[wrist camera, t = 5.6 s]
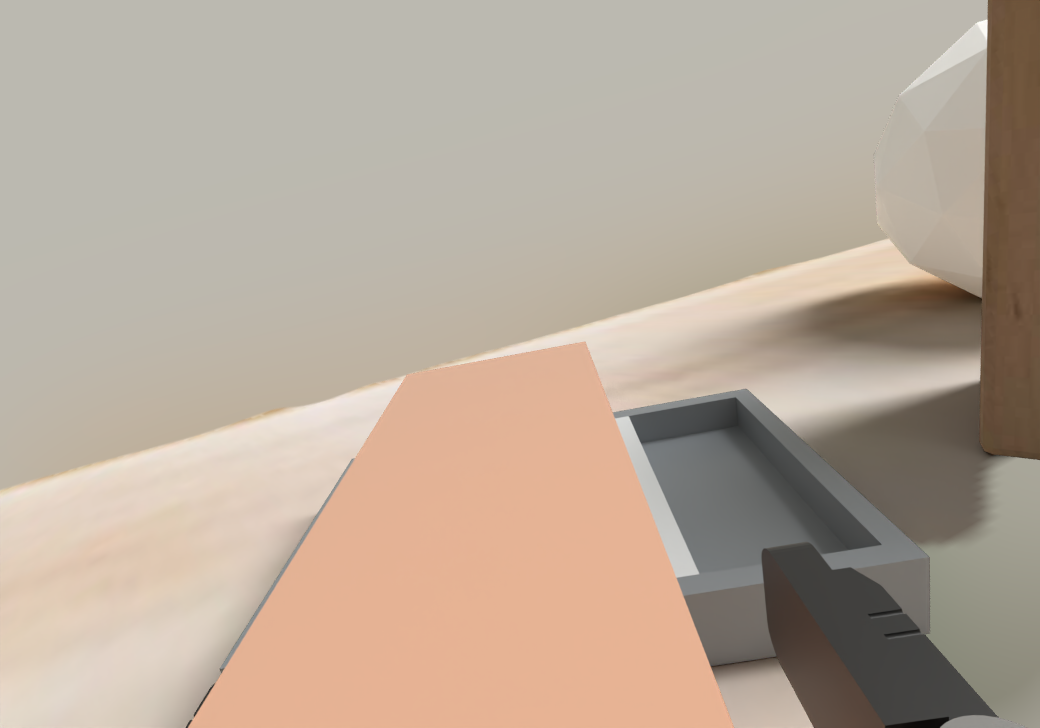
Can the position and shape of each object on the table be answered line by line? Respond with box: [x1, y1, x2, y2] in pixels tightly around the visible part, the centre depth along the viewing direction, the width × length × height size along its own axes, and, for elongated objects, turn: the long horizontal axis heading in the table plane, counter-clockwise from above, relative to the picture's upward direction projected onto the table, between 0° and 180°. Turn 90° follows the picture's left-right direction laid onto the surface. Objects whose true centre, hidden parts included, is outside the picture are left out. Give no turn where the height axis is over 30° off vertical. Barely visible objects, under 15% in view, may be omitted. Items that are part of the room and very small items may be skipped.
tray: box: [220, 389, 930, 674], centre depth 24 cm, size 14×20×2 cm
